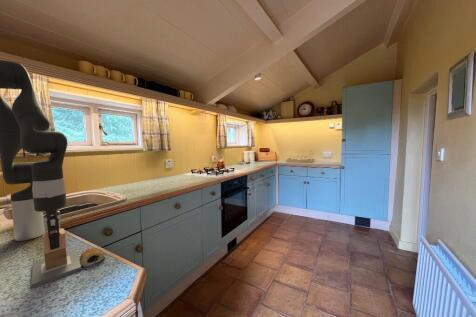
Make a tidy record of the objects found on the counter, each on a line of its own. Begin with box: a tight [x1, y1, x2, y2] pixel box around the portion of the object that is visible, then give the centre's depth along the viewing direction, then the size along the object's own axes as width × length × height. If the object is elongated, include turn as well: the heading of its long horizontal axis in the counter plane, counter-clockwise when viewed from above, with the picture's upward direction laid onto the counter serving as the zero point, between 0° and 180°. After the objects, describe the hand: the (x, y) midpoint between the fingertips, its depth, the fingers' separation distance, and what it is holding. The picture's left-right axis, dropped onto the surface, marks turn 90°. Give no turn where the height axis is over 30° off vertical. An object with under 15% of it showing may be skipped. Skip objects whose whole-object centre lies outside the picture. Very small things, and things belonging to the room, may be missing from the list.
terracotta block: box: [42, 228, 67, 254], centre depth 64 cm, size 5×5×5 cm
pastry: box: [79, 247, 106, 268], centre depth 69 cm, size 9×7×4 cm
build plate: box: [30, 249, 83, 289], centre depth 64 cm, size 16×11×1 cm
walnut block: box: [43, 247, 67, 270], centre depth 64 cm, size 5×5×5 cm
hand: (54, 245), depth 64 cm, fingers closed on terracotta block, 5 cm apart
